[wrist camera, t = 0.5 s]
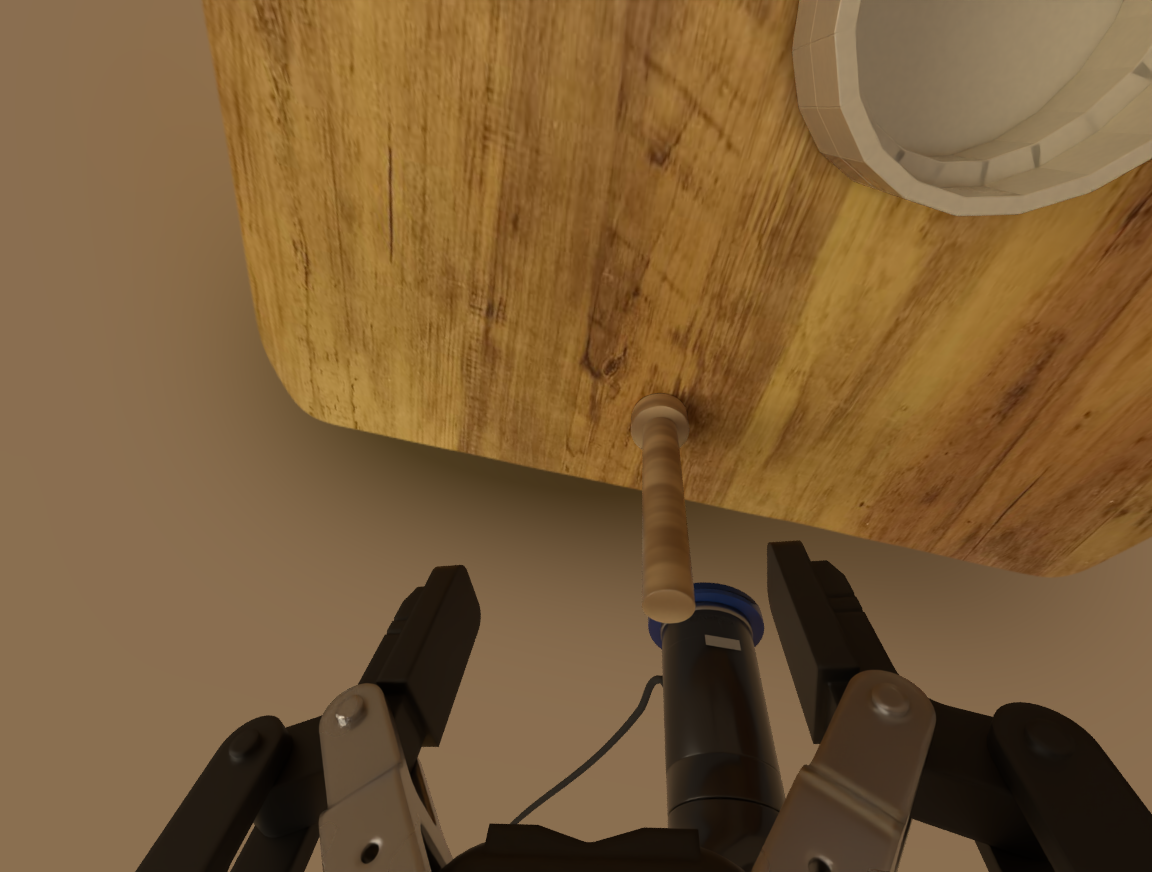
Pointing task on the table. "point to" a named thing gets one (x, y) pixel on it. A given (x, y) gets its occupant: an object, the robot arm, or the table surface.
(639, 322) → the table surface
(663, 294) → the table surface
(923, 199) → the cream open cylinder
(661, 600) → the wooden pestle
